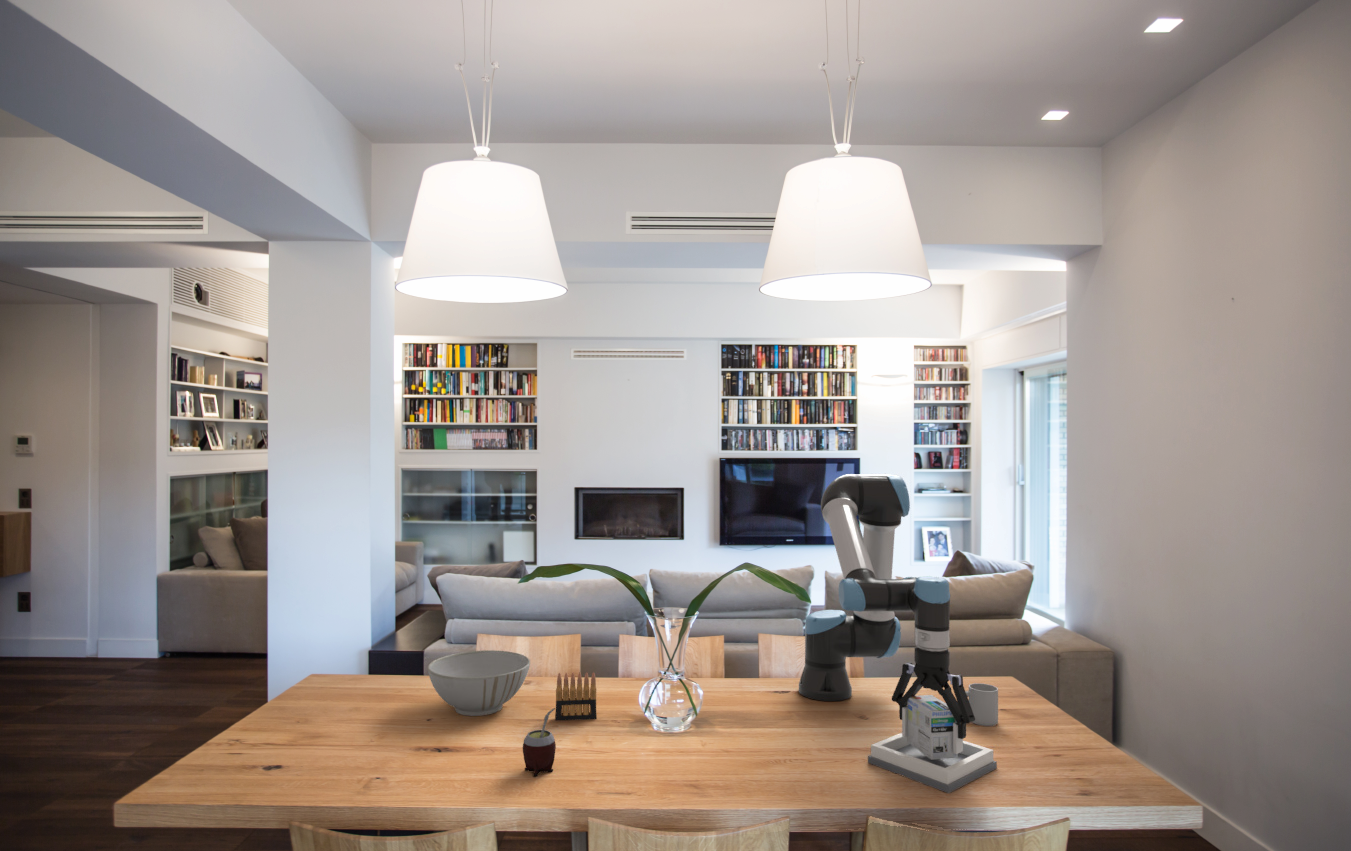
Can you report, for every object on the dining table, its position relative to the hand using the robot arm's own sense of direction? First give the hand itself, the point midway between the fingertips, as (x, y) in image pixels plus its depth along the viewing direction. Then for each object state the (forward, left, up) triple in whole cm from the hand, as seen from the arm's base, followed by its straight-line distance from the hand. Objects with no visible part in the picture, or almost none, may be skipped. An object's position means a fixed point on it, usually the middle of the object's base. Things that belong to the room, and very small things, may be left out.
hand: (931, 743), depth 175 cm
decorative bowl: (-98, -62, -5) cm, 116 cm away
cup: (-8, +35, -5) cm, 36 cm away
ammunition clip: (-75, -46, -5) cm, 88 cm away
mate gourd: (-52, -70, -5) cm, 87 cm away
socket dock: (0, 0, -5) cm, 5 cm away
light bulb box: (0, 0, -2) cm, 2 cm away
